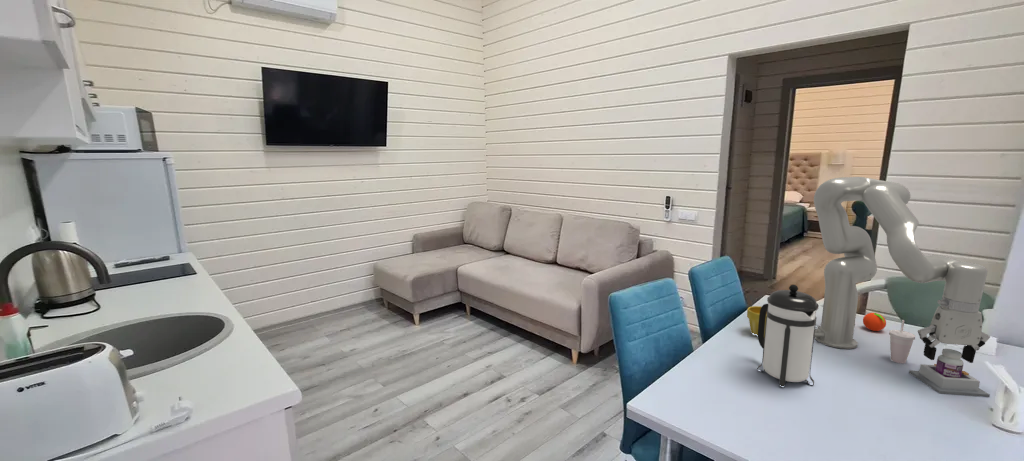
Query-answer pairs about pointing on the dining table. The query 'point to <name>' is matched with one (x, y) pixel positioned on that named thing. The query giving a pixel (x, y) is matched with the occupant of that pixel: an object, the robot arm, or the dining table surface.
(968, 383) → the socket
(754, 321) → the plant pot
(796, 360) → the coffee press
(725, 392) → the dining table surface
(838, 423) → the dining table surface
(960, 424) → the dining table surface
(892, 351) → the smoothie
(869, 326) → the clementine
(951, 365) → the pill bottle
